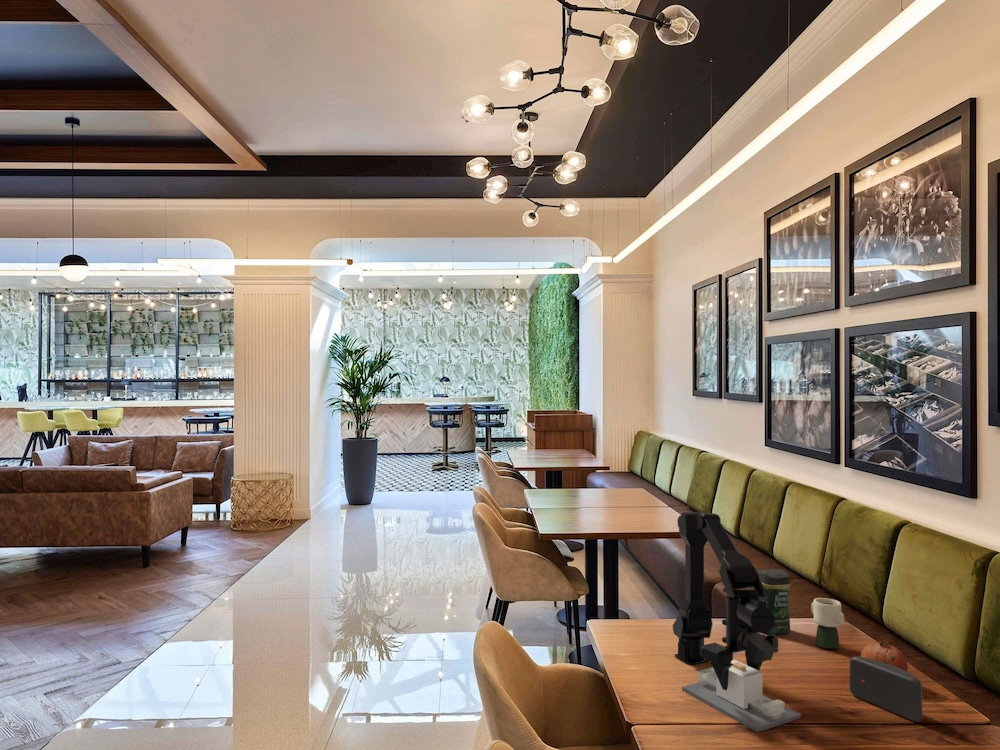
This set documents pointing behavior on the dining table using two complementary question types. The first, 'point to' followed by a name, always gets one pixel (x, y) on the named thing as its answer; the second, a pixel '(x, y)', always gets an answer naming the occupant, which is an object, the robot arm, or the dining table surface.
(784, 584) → the coffee jar
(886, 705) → the dark grey smartphone
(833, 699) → the dining table surface
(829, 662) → the dining table surface
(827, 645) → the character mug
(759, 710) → the DIN rail
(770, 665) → the dining table surface
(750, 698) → the block
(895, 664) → the fruit
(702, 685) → the mounting plate
